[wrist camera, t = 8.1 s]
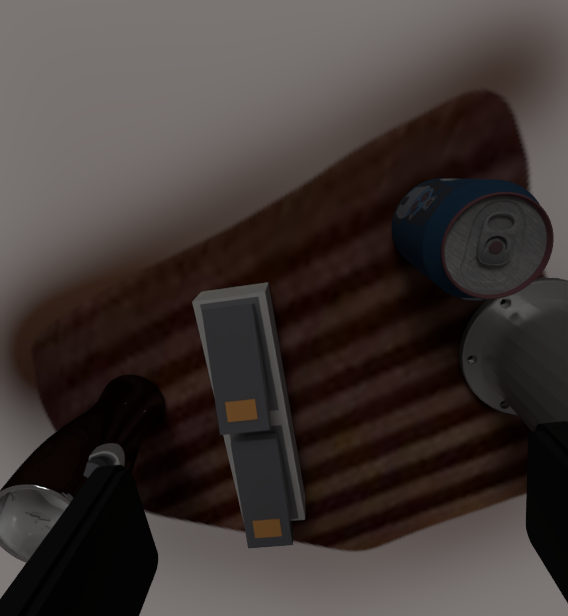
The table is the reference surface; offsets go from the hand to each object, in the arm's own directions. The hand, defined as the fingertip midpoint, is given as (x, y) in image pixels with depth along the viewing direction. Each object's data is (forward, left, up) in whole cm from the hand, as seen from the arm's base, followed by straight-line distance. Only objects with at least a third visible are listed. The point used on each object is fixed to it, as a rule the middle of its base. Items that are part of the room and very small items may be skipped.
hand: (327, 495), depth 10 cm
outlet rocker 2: (+7, +19, -21) cm, 29 cm away
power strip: (+7, +13, -26) cm, 30 cm away
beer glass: (+19, +11, -26) cm, 34 cm away
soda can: (-10, -2, -26) cm, 28 cm away
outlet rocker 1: (+7, +7, -21) cm, 23 cm away
